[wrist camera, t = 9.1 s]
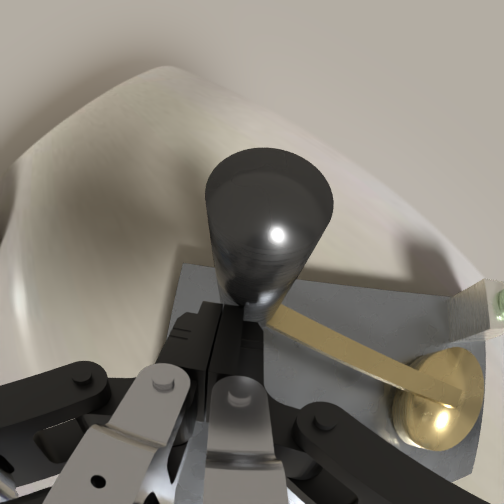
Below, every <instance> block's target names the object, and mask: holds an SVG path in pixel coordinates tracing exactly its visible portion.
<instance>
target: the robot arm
mask: <svg viewBox="0 0 504 504" xmlns="http://www.w3.org/2000/svg"><path fill="white" fill-rule="evenodd" d="M243 316H244V307H242V306H235V305H228V304H224V308H223V304H221V303H214V302H208V301H203V302H202V304H201V306H200V309H199V312H198V314H196V313H190V312H186V313H184V314H183V315H181V316H180V317H178V318H177V320H176V322H175V324H174V326H173V329H172V330H171V332H170V334H169V337H168V338H167V340H166V342H165V344H164V346H163V348H162V350H161V352H160V355H159V357H158V359H157V361H156V363H155V364H153V365H150V366H147V367H146V368H144V369H143V370H141V372H140V373H139V374H138V376H137V377H135V378H108V377H107V374H106V372H105V370H104V369H103V368H102V367H101V366H100V365H98V364H96V363H94V362H90V361H78V362H74V363H71V364H68V365H65V366H62V367H59V368H56V369H53V370H50V371H47V372H44V373H41V374H38V375H34V376H31V377H28V378H25V379H21V380H18V381H15V382H11V383H8V384H5V385H1V386H0V504H174V499H175V490H176V486H177V483H178V480H179V477H180V474H181V471H182V468H183V465H184V462H185V459H186V456H187V453H188V450H189V447H190V444H191V440H192V434H193V431H194V427H195V422H196V421H200V422H204V418H205V414H206V422H207V423H209V428H208V441H207V454H206V462H205V476H204V493H203V504H289V500H288V493H287V488H288V489H289V490H290V491H291V492H293V493H294V494H295V495H296V496H297V497H298V498H299V499H300V500H301V501H302V502H304V503H305V504H490V503H488V502H486V501H484V500H482V499H480V498H478V497H476V496H475V495H473V494H471V493H469V492H467V491H465V490H464V489H462V488H460V487H458V486H456V485H455V484H453V483H451V482H450V481H448V480H446V479H444V478H443V477H441V476H439V475H438V474H436V473H435V472H433V471H431V470H430V469H428V468H427V467H425V466H423V465H422V464H420V463H419V462H417V461H416V460H414V459H412V458H411V457H409V456H408V455H406V454H405V453H403V452H402V451H400V450H399V449H397V448H396V447H395V446H393V445H392V444H390V443H389V442H387V441H386V440H384V439H383V438H382V437H380V436H379V435H377V434H376V433H375V432H373V431H372V430H370V429H369V428H368V427H366V426H365V425H363V424H362V423H361V422H359V421H358V420H357V419H355V418H354V417H353V416H351V415H350V414H349V413H347V412H346V411H345V410H343V409H342V408H341V407H339V406H337V405H335V404H332V403H329V402H322V401H321V402H312V403H309V404H307V405H305V406H304V407H302V408H301V409H297V408H294V407H291V406H287V405H285V404H282V403H280V402H278V401H276V400H275V399H273V398H272V397H271V396H270V395H269V394H268V392H267V391H266V389H265V386H264V343H263V342H264V331H263V330H262V328H261V327H260V325H259V324H258V322H252V321H244V320H243ZM74 418H75V419H74ZM71 419H72V420H71ZM68 420H70V421H68ZM66 421H67V422H66ZM63 422H65V423H63ZM60 423H62V424H60ZM58 424H59V425H58ZM55 425H56V426H55ZM52 426H54V427H52ZM49 427H51V428H49ZM46 428H48V429H46ZM43 429H44V430H43ZM57 474H60V475H59V476H58V478H57V480H56V481H55V483H54V485H53V486H52V487H48V488H45V489H42V490H39V491H36V492H34V493H31V494H28V495H25V496H21V497H18V493H17V491H16V487H19V486H23V485H26V484H30V483H33V482H36V481H39V480H42V479H46V478H48V477H51V476H54V475H57Z"/></svg>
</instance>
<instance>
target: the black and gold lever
mask: <svg viewBox="0 0 504 504" xmlns="http://www.w3.org/2000/svg"><path fill="white" fill-rule="evenodd" d="M205 200H206V208H207V215H208V223H209V230H210V238H211V245H212V252H213V258H214V265H215V272H216V278H217V285H218V291H219V297H220V303H221V304H223V308H224V304H228V305H235V306H242V307H244V316H243V320H244V321H252V322H258V324H259V325H260V327H261V328H262V327H264V326H267V327H269V328H271V329H273V330H275V331H277V332H279V333H281V334H283V335H285V336H287V337H289V338H291V339H292V340H294V341H296V342H298V343H300V344H302V345H305V346H307V347H309V348H311V349H313V350H315V351H317V352H319V353H321V354H323V355H325V356H327V357H329V358H331V359H334V360H336V361H338V362H340V363H342V364H344V365H346V366H349V367H351V368H353V369H355V370H358V371H360V372H362V373H364V374H366V375H369V376H371V377H373V378H376V379H378V380H380V381H383V382H385V383H387V384H390V385H392V386H394V387H397V388H396V391H395V395H394V399H393V407H392V415H393V423H394V427H395V430H396V432H397V434H398V435H399V437H400V438H401V439H402V440H403V441H404V442H405V443H407V444H409V445H412V446H415V447H419V448H424V449H428V450H433V451H444V450H448V449H450V448H452V447H454V446H455V445H457V444H458V443H459V442H461V441H462V440H463V439H464V438H465V437H466V436H467V434H468V433H469V432H470V431H471V429H472V428H473V426H474V424H475V422H476V420H477V418H478V416H479V413H480V410H481V407H482V403H483V397H484V378H483V373H482V370H481V367H480V364H479V362H478V360H477V359H476V357H475V356H474V355H473V354H472V353H471V352H470V351H468V350H467V349H464V348H461V347H452V348H448V349H444V350H440V351H436V352H433V353H429V354H426V355H423V356H421V357H419V358H418V359H417V360H415V361H414V362H413V363H412V364H411V365H410V366H407V365H404V364H402V363H400V362H398V361H396V360H394V359H392V358H389V357H387V356H385V355H383V354H381V353H379V352H377V351H375V350H372V349H370V348H368V347H366V346H364V345H362V344H360V343H358V342H356V341H354V340H352V339H350V338H348V337H346V336H344V335H342V334H340V333H338V332H335V331H333V330H331V329H329V328H327V327H325V326H323V325H321V324H319V323H317V322H316V321H314V320H312V319H310V318H308V317H306V316H304V315H302V314H300V313H298V312H296V311H294V310H292V309H290V308H288V307H286V306H284V305H282V304H281V303H282V301H283V300H284V298H285V297H286V295H287V293H288V292H289V290H290V289H291V287H292V285H293V284H294V282H295V280H296V279H297V277H298V275H299V274H300V272H301V270H302V269H303V267H304V265H305V264H306V262H307V260H308V258H309V257H310V255H311V253H312V252H313V250H314V248H315V246H316V245H317V243H318V241H319V240H320V238H321V236H322V234H323V233H324V231H325V229H326V227H327V225H328V224H329V222H330V220H331V217H332V213H333V195H332V192H331V188H330V186H329V184H328V182H327V180H326V179H325V177H324V176H323V175H322V173H321V172H320V171H319V170H318V169H317V168H316V167H315V166H314V165H312V164H311V163H310V162H309V161H307V160H305V159H304V158H302V157H300V156H298V155H296V154H294V153H291V152H288V151H285V150H281V149H275V148H252V149H247V150H243V151H240V152H237V153H235V154H233V155H231V156H229V157H227V158H226V159H224V160H223V161H222V162H220V163H219V164H218V165H217V166H216V167H215V169H214V170H213V171H212V173H211V175H210V177H209V179H208V181H207V184H206V190H205Z"/></svg>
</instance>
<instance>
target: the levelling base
mask: <svg viewBox="0 0 504 504" xmlns="http://www.w3.org/2000/svg"><path fill="white" fill-rule="evenodd" d="M203 301H208V302H214V303H220V297H219V291H218V285H217V278H216V272H215V268H213V267H206V266H200V265H193V264H187V263H183V265H182V269H181V273H180V278H179V282H178V286H177V291H176V295H175V300H174V305H173V309H172V314H171V319H170V324H169V329H168V334H167V338H168V337H169V334H170V332H171V330H172V329H173V326H174V324H175V322H176V320H177V318H178V317H180V316H181V315H183V314H184V313H186V312H190V313H196V314H198V312H199V309H200V306H201V304H202V302H203ZM281 304H282V305H284V306H286V307H288V308H290V309H292V310H294V311H296V312H298V313H300V314H302V315H304V316H306V317H308V318H310V319H312V320H314V321H316V322H317V323H319V324H321V325H323V326H325V327H327V328H329V329H331V330H333V331H335V332H338V333H340V334H342V335H344V336H346V337H348V338H350V339H352V340H354V341H356V342H358V343H360V344H362V345H364V346H366V347H368V348H370V349H372V350H375V351H377V352H379V353H381V354H383V355H385V356H387V357H389V358H392V359H394V360H396V361H398V362H400V363H402V364H404V365H407V366H410V365H411V364H412V363H413V362H414V361H415V360H417V359H418V358H419V357H421V356H423V355H426V354H429V353H433V352H436V351H440V350H444V349H448V348H452V347H461V348H464V349H467V350H468V351H470V352H471V353H472V354H473V355H474V356H475V357H476V359H477V360H478V362H479V364H480V367H481V370H482V373H483V378H484V393H485V371H486V351H485V341H486V340H489V339H492V338H495V337H498V336H501V335H503V334H504V282H502V281H496V280H490V279H483V280H481V281H479V282H477V283H476V284H474V285H472V286H471V287H469V288H467V289H465V290H463V291H462V292H460V293H458V294H456V295H454V296H452V297H447V296H437V295H427V294H417V293H408V292H398V291H389V290H380V289H372V288H363V287H355V286H346V285H338V284H330V283H322V282H314V281H306V280H299V279H296V280H295V282H294V284H293V285H292V287H291V289H290V290H289V292H288V293H287V295H286V297H285V298H284V300H283V301H282V303H281ZM262 330H263V331H264V342H263V343H264V386H265V389H266V391H267V392H268V394H269V395H270V396H271V397H272V398H273V399H275V400H276V401H278V402H280V403H282V404H285V405H287V406H291V407H294V408H297V409H301V408H302V407H304V406H305V405H307V404H309V403H312V402H321V401H322V402H329V403H332V404H335V405H337V406H339V407H341V408H342V409H343V410H345V411H346V412H347V413H349V414H350V415H351V416H353V417H354V418H355V419H357V420H358V421H359V422H361V423H362V424H363V425H365V426H366V427H368V428H369V429H370V430H372V431H373V432H375V433H376V434H377V435H379V436H380V437H382V438H383V439H384V440H386V441H387V442H389V443H390V444H392V445H393V446H395V447H396V448H397V449H399V450H400V451H402V452H403V453H405V454H406V455H408V456H409V457H411V458H412V459H414V460H416V461H417V462H419V463H420V464H422V465H423V466H425V467H427V468H428V469H430V470H431V471H433V472H435V473H436V474H438V475H439V476H441V477H443V478H444V479H446V480H448V481H450V482H453V481H456V480H458V479H460V478H463V477H465V476H467V475H469V474H471V473H472V469H473V465H474V461H475V457H476V452H477V447H478V442H479V436H480V430H481V423H482V415H483V405H484V397H483V403H482V407H481V410H480V413H479V416H478V418H477V420H476V422H475V424H474V426H473V428H472V429H471V431H470V432H469V433H468V434H467V436H466V437H465V438H464V439H463V440H462V441H461V442H459V443H458V444H457V445H455V446H454V447H452V448H450V449H448V450H444V451H433V450H428V449H424V448H419V447H415V446H412V445H409V444H407V443H405V442H404V441H403V440H402V439H401V438H400V437H399V435H398V434H397V432H396V430H395V427H394V423H393V415H392V407H393V399H394V395H395V391H396V388H397V387H394V386H392V385H390V384H387V383H385V382H383V381H380V380H378V379H376V378H373V377H371V376H369V375H366V374H364V373H362V372H360V371H358V370H355V369H353V368H351V367H349V366H346V365H344V364H342V363H340V362H338V361H336V360H334V359H331V358H329V357H327V356H325V355H323V354H321V353H319V352H317V351H315V350H313V349H311V348H309V347H307V346H305V345H302V344H300V343H298V342H296V341H294V340H292V339H291V338H289V337H287V336H285V335H283V334H281V333H279V332H277V331H275V330H273V329H271V328H269V327H267V326H264V327H262ZM166 340H167V339H166ZM208 428H209V423H207V422H206V414H205V418H204V422H200V421H196V422H195V427H194V431H193V434H192V440H191V444H190V447H189V450H188V453H187V456H186V459H185V462H184V465H183V468H182V471H181V474H180V477H179V480H178V483H177V486H176V490H175V499H174V504H203V493H204V476H205V462H206V454H207V441H208ZM287 493H288V500H289V504H305V503H304V502H302V501H301V500H300V499H299V498H298V497H297V496H296V495H295V494H294V493H293V492H291V491H290V490H289V489H288V488H287Z"/></svg>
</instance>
